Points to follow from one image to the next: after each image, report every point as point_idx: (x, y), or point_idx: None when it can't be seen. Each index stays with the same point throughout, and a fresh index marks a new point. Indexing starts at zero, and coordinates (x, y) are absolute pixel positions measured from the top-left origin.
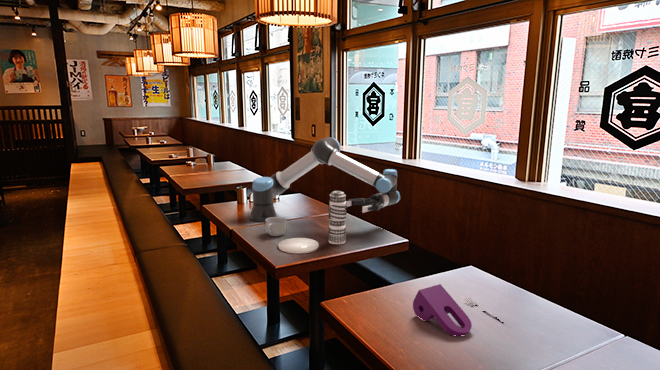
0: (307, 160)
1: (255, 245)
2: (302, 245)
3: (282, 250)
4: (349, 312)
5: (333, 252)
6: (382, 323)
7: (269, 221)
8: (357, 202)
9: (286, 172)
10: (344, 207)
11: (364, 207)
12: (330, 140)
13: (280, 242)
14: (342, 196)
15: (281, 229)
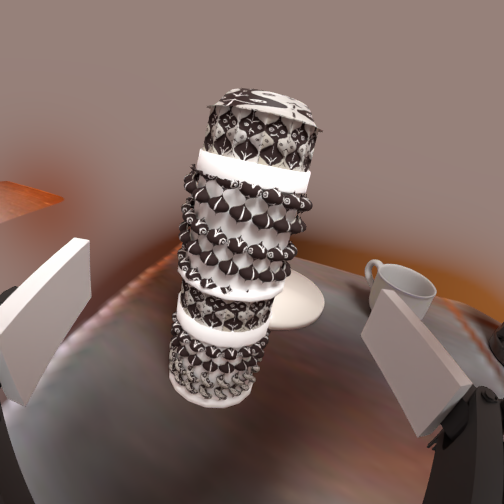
0: None
1: (326, 268)
2: None
3: None
4: (38, 196)
5: (144, 296)
6: (6, 194)
7: (423, 289)
8: (448, 495)
9: None
10: (184, 179)
11: (66, 247)
12: None
13: (304, 278)
14: (210, 108)
15: (373, 293)
